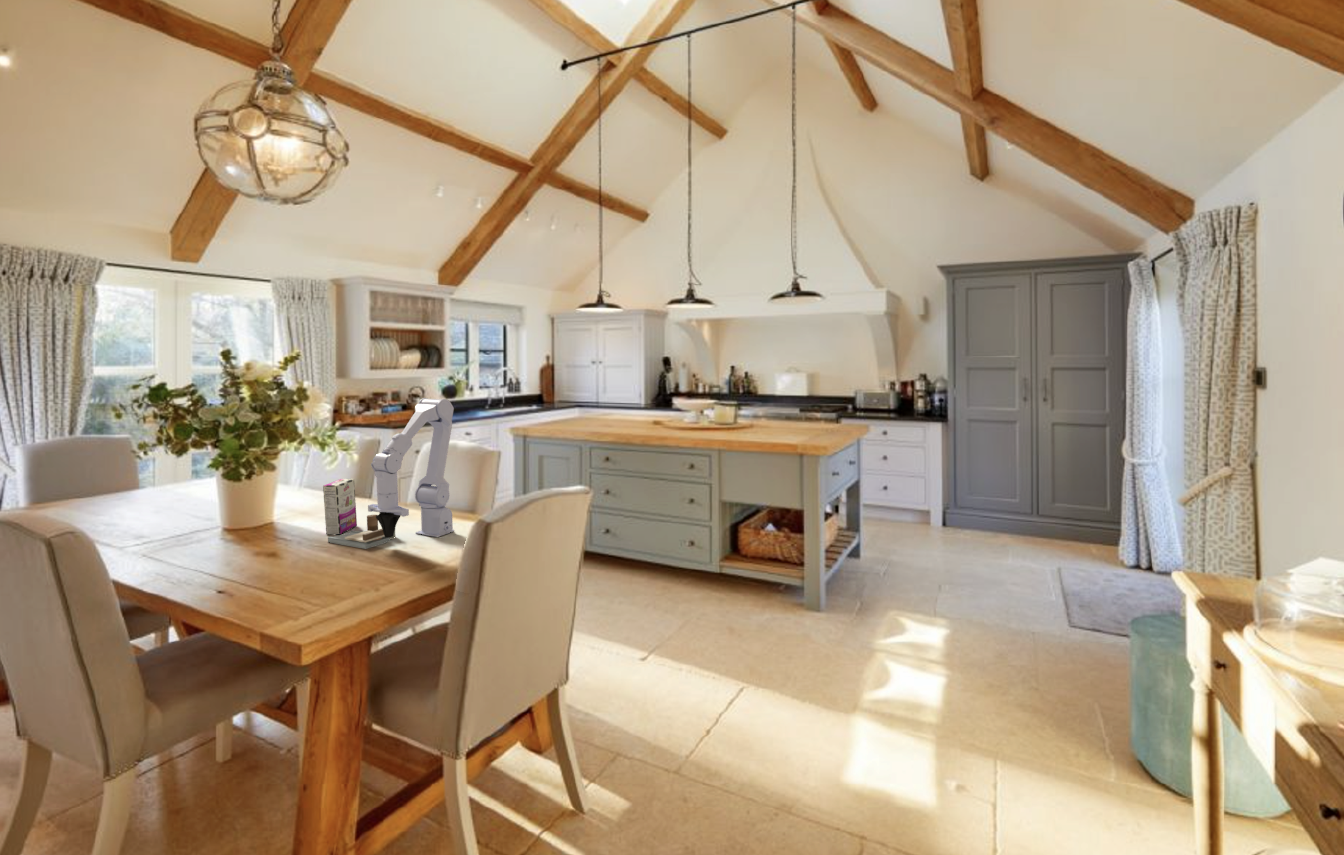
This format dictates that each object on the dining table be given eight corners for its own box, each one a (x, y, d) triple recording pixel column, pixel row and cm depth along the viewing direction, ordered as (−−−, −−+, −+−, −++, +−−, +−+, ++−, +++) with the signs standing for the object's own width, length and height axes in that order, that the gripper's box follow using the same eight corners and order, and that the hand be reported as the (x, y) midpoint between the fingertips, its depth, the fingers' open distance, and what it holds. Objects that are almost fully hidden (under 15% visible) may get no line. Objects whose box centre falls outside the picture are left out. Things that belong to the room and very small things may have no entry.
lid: (388, 535, 204) (387, 527, 203) (365, 542, 196) (365, 534, 196) (368, 532, 207) (367, 524, 207) (345, 539, 199) (344, 531, 199)
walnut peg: (380, 533, 213) (379, 515, 212) (372, 535, 210) (371, 517, 209) (373, 531, 214) (372, 514, 214) (365, 534, 211) (364, 516, 211)
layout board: (389, 541, 204) (389, 536, 204) (365, 548, 196) (365, 543, 196) (352, 535, 210) (352, 530, 210) (328, 542, 202) (327, 537, 202)
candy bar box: (342, 525, 221) (340, 478, 219) (357, 526, 221) (355, 478, 219) (324, 534, 210) (322, 484, 208) (340, 535, 210) (337, 485, 208)
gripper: (358, 493, 195) (360, 537, 197) (395, 497, 190) (396, 543, 191) (377, 488, 202) (379, 531, 203) (413, 493, 196) (415, 537, 198)
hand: (389, 536), depth 198 cm, fingers closed
